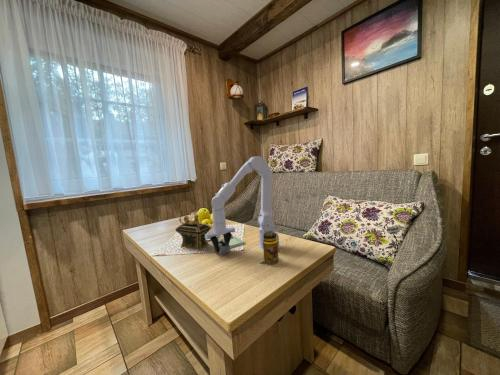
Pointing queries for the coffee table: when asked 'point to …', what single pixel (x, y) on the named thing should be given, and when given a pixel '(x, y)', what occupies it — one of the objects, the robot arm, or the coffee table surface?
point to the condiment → (270, 249)
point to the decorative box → (193, 233)
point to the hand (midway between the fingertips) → (222, 250)
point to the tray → (234, 241)
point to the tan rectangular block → (220, 255)
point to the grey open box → (223, 248)
